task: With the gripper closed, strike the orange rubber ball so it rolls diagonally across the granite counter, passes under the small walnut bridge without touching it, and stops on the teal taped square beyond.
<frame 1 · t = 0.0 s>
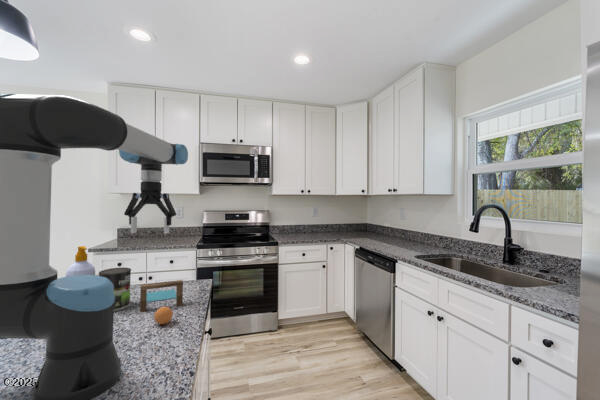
hand: (150, 233, 110), 28 cm above the counter, tool pointing down, fingers open, 13 cm apart
bridge: (161, 306, 104), on the counter
coffee can: (114, 307, 103), on the counter
soap bottle: (80, 310, 99), on the counter
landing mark: (160, 295, 116), on the counter
ball: (163, 315, 90), on the counter
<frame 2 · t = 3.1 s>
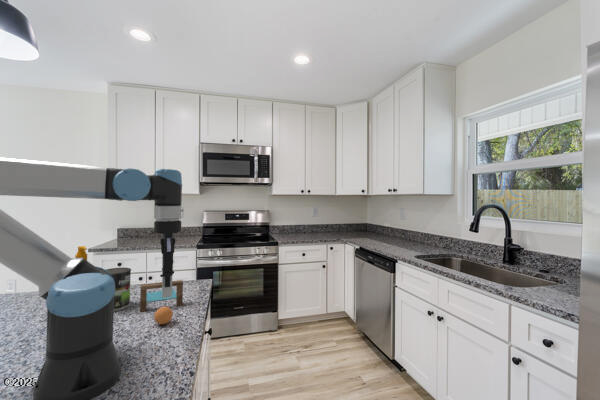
hand: (167, 296, 82), 12 cm above the counter, tool pointing down, fingers closed
nothing on the counter moved.
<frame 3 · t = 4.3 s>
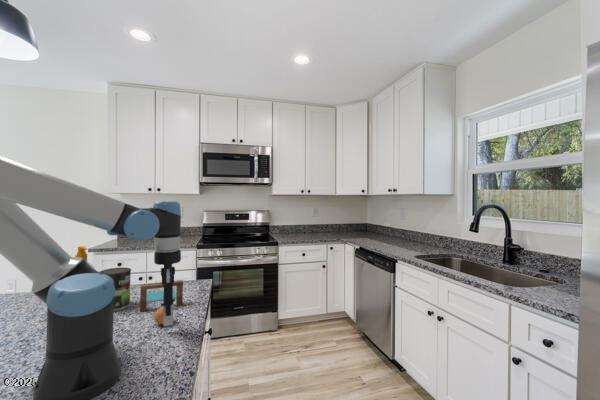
hand: (168, 324, 84), 2 cm above the counter, tool pointing down, fingers closed
nothing on the counter moved.
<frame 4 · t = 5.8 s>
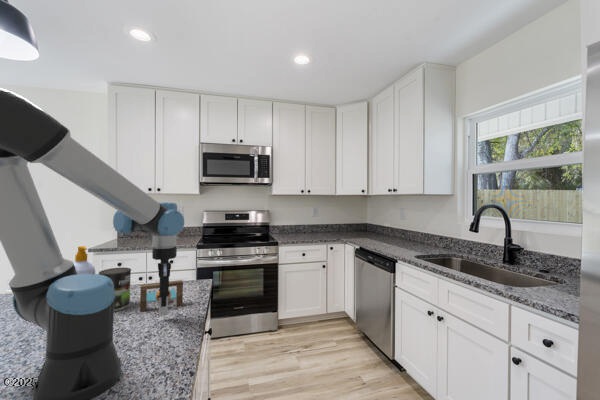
hand: (163, 314, 93), 2 cm above the counter, tool pointing down, fingers closed
ball: (163, 295, 109), on the counter
everything else where it was.
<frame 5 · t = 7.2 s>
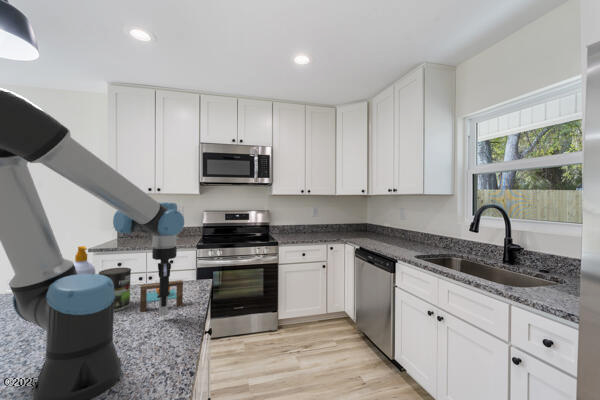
hand: (163, 314, 93), 2 cm above the counter, tool pointing down, fingers closed
ball: (163, 289, 116), on the counter
everything else where it was.
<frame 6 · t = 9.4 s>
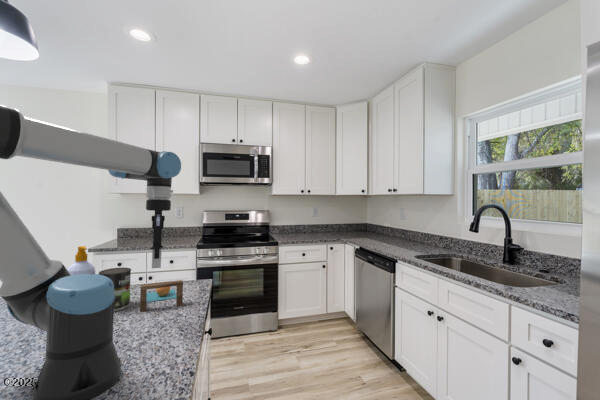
hand: (156, 267, 92), 18 cm above the counter, tool pointing down, fingers closed
nothing on the counter moved.
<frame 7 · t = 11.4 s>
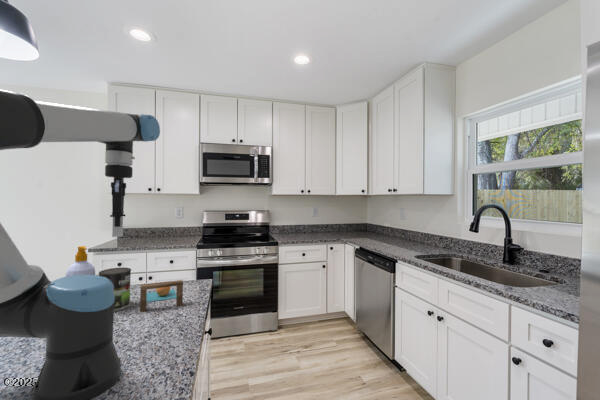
hand: (117, 236, 88), 29 cm above the counter, tool pointing down, fingers closed
nothing on the counter moved.
at the end: ball 1.1 cm from the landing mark (horizontally); ball never touched bridge; ball at rest at the end (0.0 cm/s) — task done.
